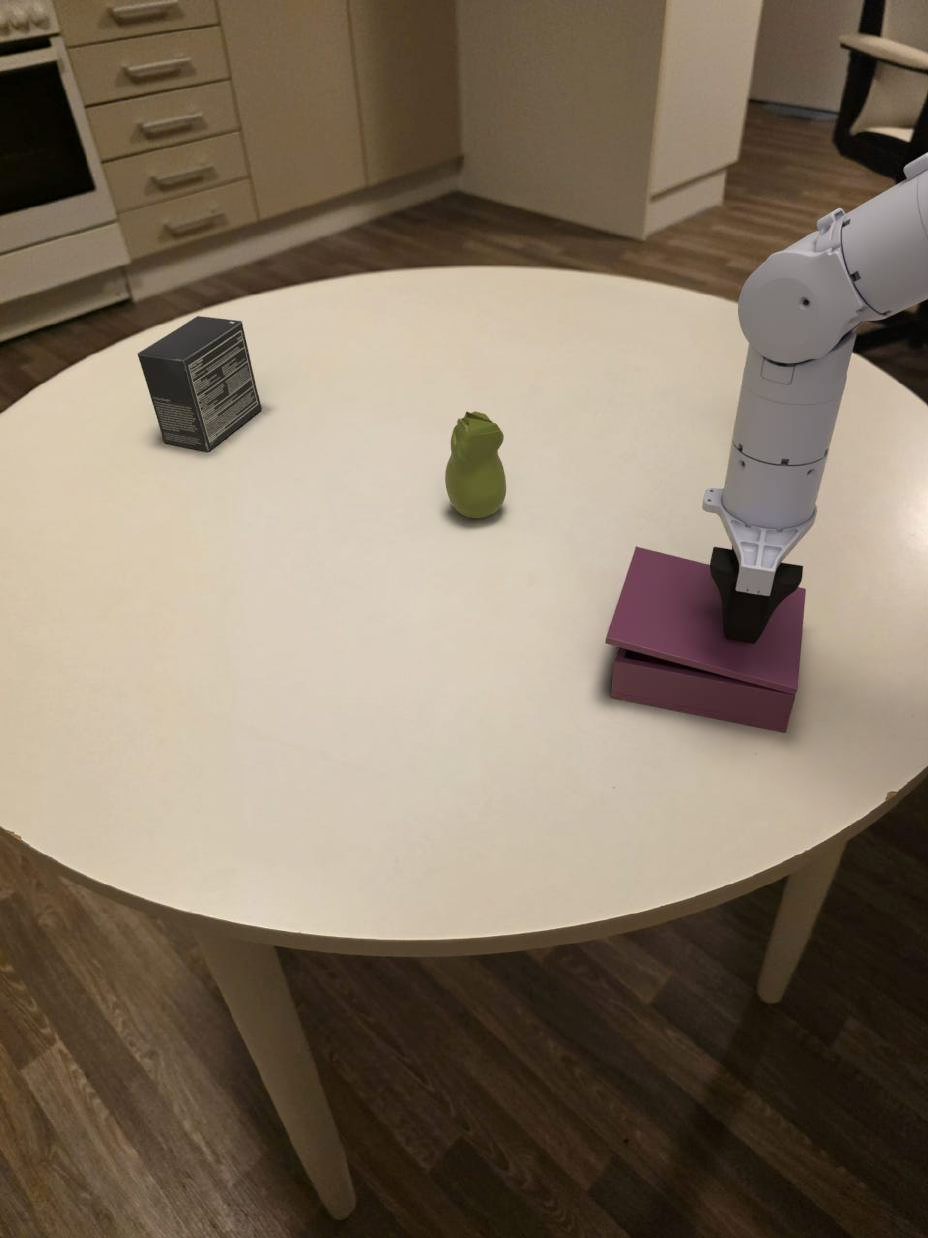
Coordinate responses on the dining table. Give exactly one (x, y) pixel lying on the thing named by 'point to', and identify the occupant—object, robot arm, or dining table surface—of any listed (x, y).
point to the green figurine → (475, 467)
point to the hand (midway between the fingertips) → (744, 613)
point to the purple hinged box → (698, 691)
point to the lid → (702, 623)
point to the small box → (201, 382)
